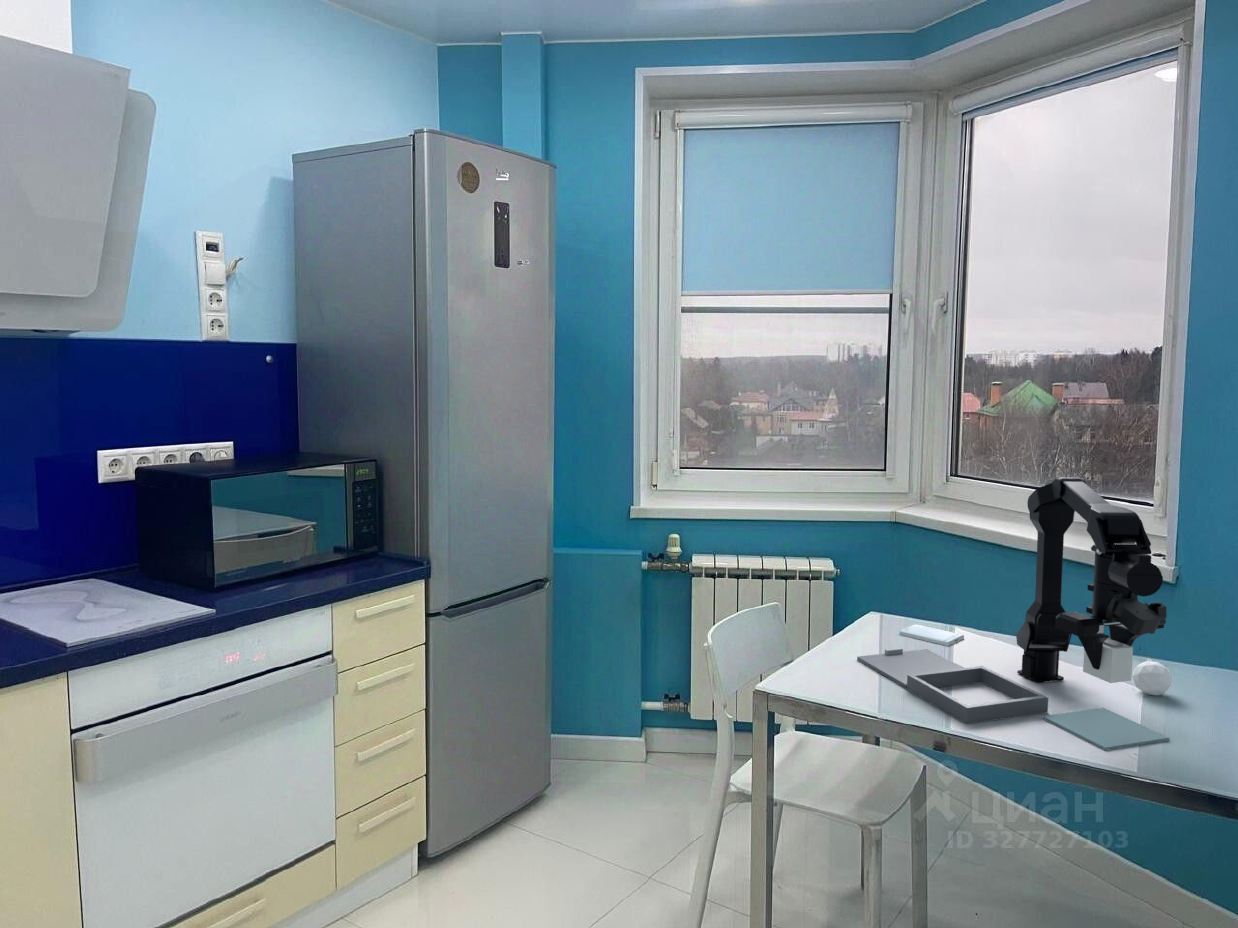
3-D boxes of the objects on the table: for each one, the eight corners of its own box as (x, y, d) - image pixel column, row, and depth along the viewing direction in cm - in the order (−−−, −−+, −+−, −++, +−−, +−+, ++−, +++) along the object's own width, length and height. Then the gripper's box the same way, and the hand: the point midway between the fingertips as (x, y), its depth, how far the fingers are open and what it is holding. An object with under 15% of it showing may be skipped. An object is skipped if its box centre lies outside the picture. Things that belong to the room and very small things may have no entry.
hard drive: (899, 630, 208) (948, 641, 199) (915, 623, 214) (964, 633, 205) (899, 637, 208) (948, 648, 199) (915, 629, 214) (964, 640, 205)
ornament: (1126, 693, 169) (1122, 657, 173) (1152, 702, 171) (1147, 666, 175) (1155, 687, 164) (1150, 650, 167) (1182, 696, 166) (1176, 659, 169)
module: (1103, 669, 155) (1105, 634, 154) (1131, 680, 149) (1133, 644, 149) (1083, 671, 154) (1084, 637, 153) (1110, 683, 148) (1112, 647, 147)
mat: (1103, 709, 161) (1103, 707, 161) (1169, 740, 148) (1169, 737, 148) (1042, 718, 157) (1042, 715, 157) (1104, 750, 144) (1104, 747, 144)
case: (926, 652, 195) (926, 639, 194) (1047, 712, 160) (1048, 697, 160) (857, 659, 190) (857, 646, 189) (966, 723, 155) (967, 707, 155)
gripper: (1107, 597, 139) (1102, 689, 141) (1195, 588, 145) (1189, 677, 146) (1055, 581, 150) (1050, 666, 152) (1138, 574, 155) (1133, 656, 157)
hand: (1106, 667), depth 151 cm, fingers closed on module, 4 cm apart
